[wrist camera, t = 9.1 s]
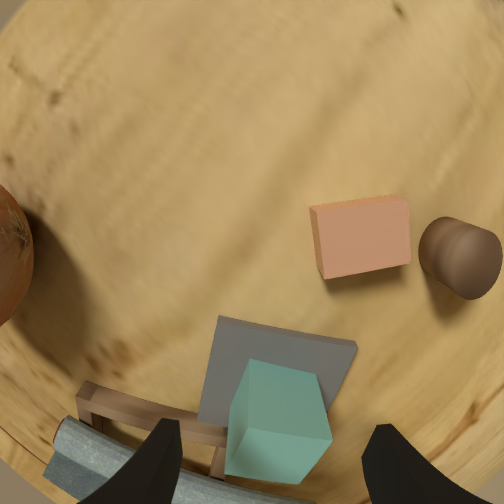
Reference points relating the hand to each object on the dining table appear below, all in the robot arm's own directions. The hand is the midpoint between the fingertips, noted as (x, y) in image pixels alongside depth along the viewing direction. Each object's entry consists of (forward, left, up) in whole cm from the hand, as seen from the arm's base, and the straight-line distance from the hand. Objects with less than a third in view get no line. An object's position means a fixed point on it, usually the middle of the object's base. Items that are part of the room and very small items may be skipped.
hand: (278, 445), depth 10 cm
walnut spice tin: (-10, -7, -10) cm, 16 cm away
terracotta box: (-3, -7, -10) cm, 13 cm away
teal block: (-1, +5, -9) cm, 10 cm away
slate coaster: (-1, +5, -10) cm, 11 cm away
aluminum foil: (+3, +17, -5) cm, 18 cm away
